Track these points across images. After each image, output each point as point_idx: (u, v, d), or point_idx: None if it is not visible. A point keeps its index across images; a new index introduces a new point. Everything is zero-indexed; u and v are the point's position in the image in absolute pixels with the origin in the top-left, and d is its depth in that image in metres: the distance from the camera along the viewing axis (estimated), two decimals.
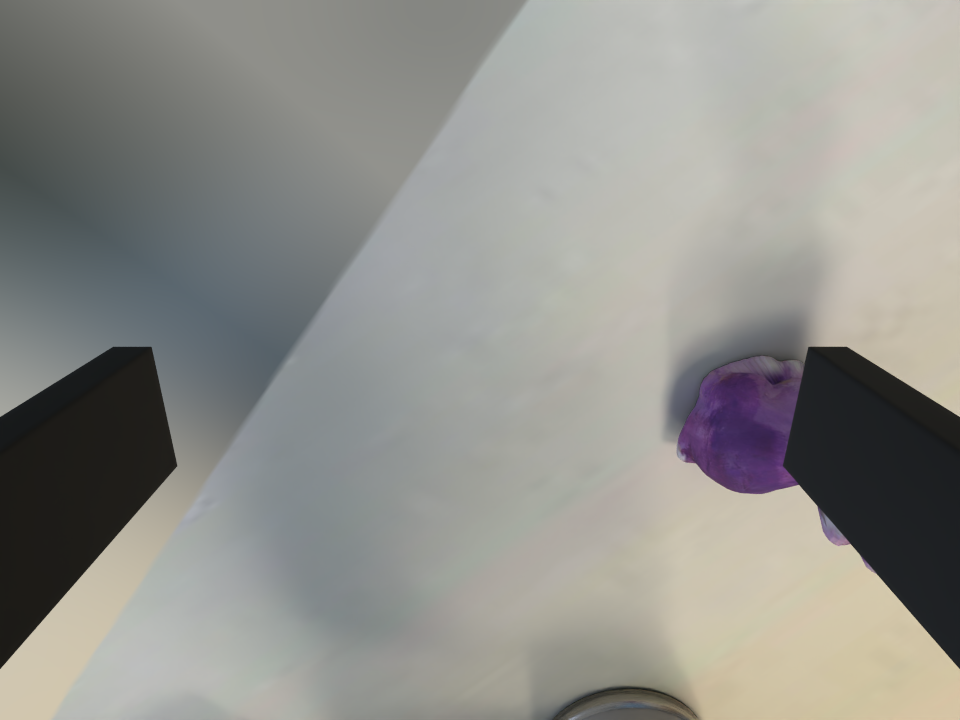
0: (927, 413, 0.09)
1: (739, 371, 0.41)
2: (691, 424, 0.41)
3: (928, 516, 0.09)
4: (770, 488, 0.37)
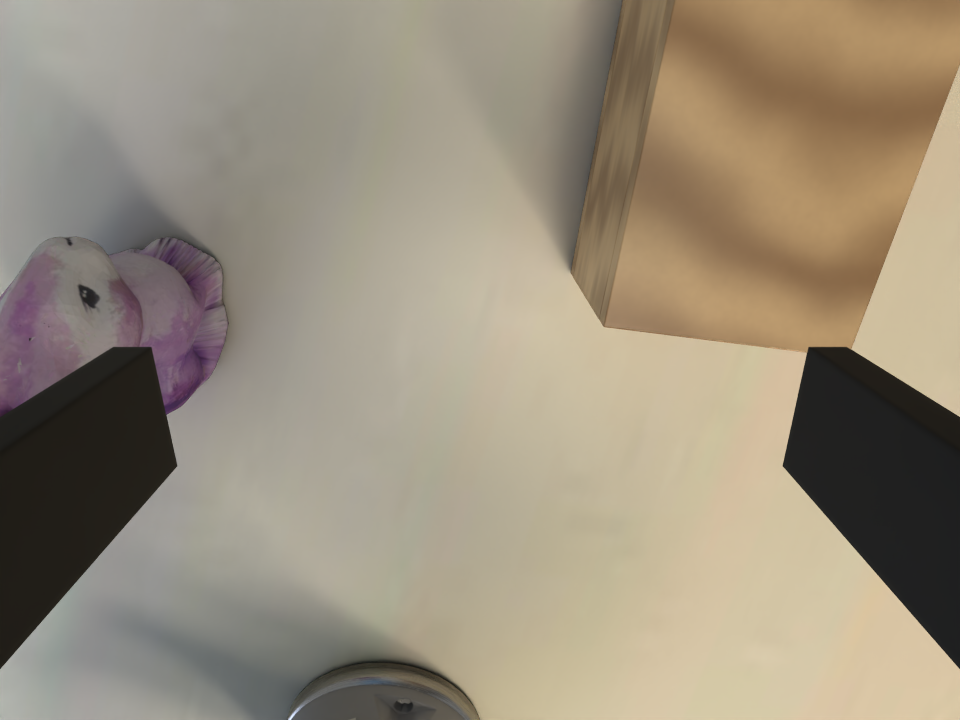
0: (927, 413, 0.09)
1: None
2: None
3: (927, 517, 0.09)
4: None
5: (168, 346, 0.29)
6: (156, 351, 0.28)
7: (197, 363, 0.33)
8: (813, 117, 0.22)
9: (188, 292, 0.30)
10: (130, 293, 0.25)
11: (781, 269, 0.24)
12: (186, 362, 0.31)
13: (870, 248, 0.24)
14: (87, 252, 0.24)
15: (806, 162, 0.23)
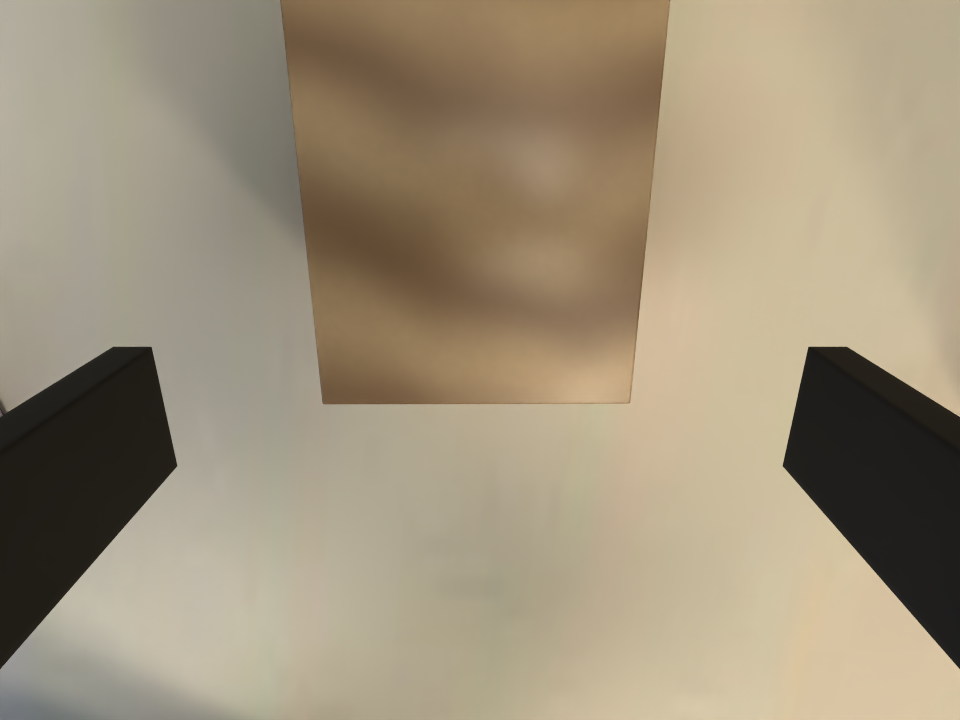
0: (927, 413, 0.09)
1: None
2: None
3: (928, 517, 0.09)
4: None
5: None
6: None
7: None
8: (499, 125, 0.17)
9: None
10: None
11: (516, 311, 0.20)
12: None
13: (618, 272, 0.19)
14: None
15: (507, 180, 0.18)
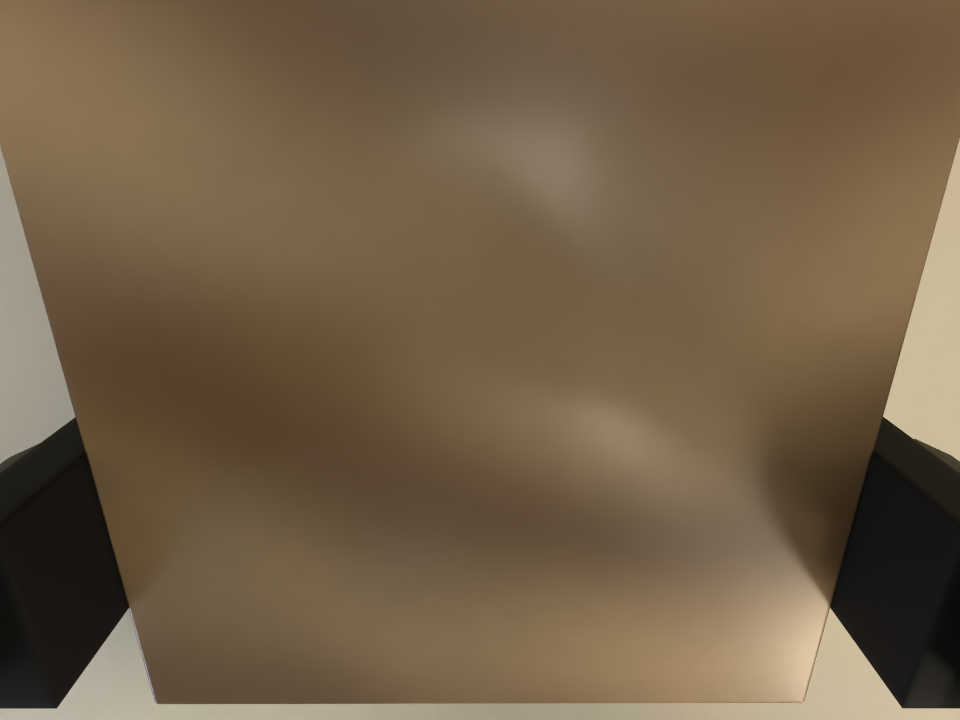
0: None
1: None
2: None
3: None
4: None
5: None
6: None
7: None
8: (542, 110, 0.07)
9: None
10: None
11: (570, 537, 0.09)
12: None
13: (814, 459, 0.08)
14: None
15: (559, 253, 0.07)
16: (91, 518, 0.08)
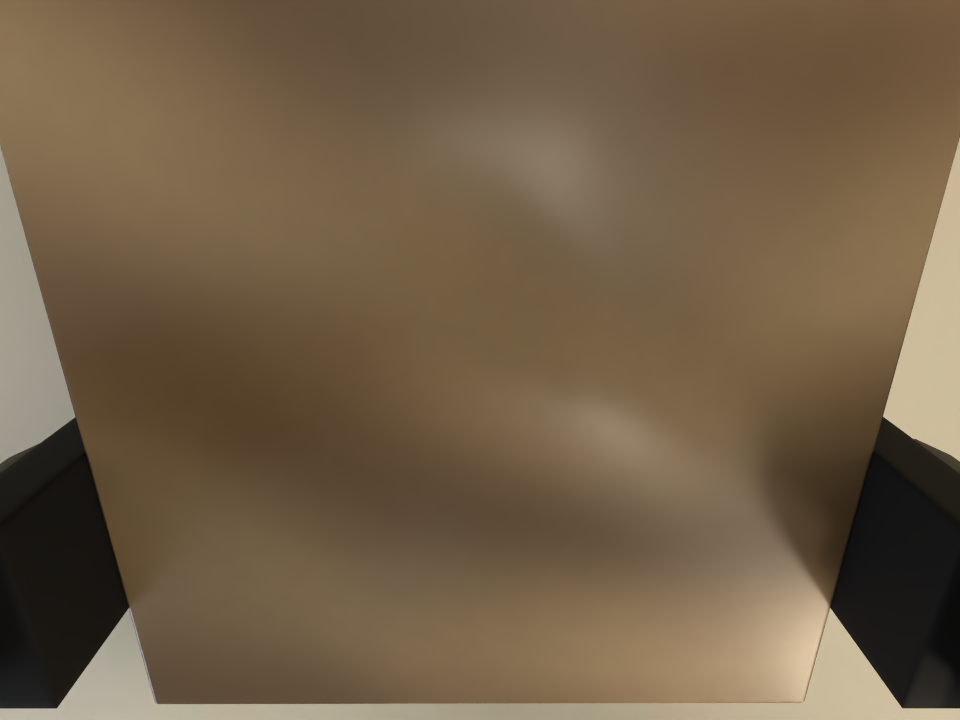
0: None
1: None
2: None
3: None
4: None
5: None
6: None
7: None
8: (542, 110, 0.06)
9: None
10: None
11: (570, 537, 0.09)
12: None
13: (814, 459, 0.08)
14: None
15: (559, 253, 0.07)
16: (91, 518, 0.08)
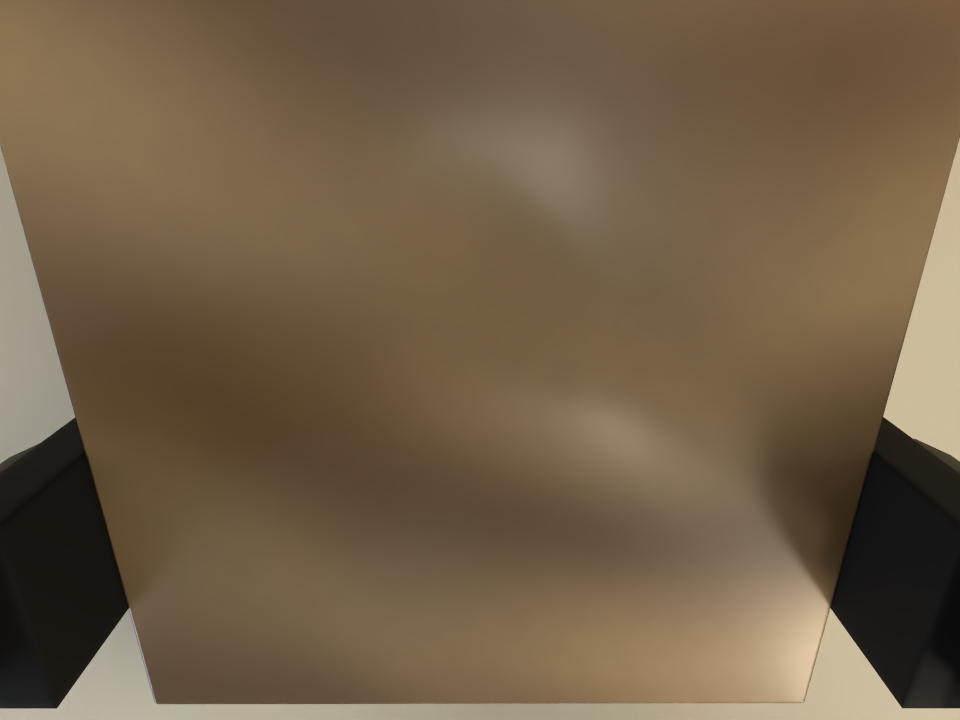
0: None
1: None
2: None
3: None
4: None
5: None
6: None
7: None
8: (542, 110, 0.06)
9: None
10: None
11: (570, 537, 0.09)
12: None
13: (814, 459, 0.08)
14: None
15: (559, 252, 0.07)
16: (91, 518, 0.08)
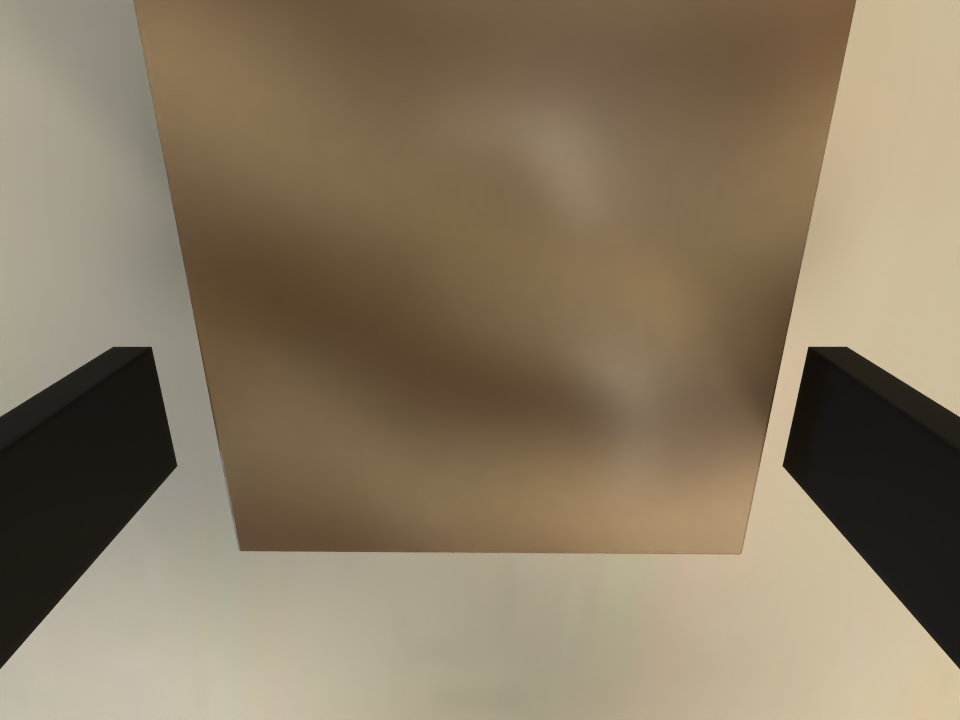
0: (927, 413, 0.09)
1: None
2: None
3: (928, 517, 0.09)
4: None
5: None
6: None
7: None
8: (536, 86, 0.09)
9: None
10: None
11: (558, 412, 0.11)
12: None
13: (740, 351, 0.11)
14: None
15: (549, 191, 0.10)
16: None
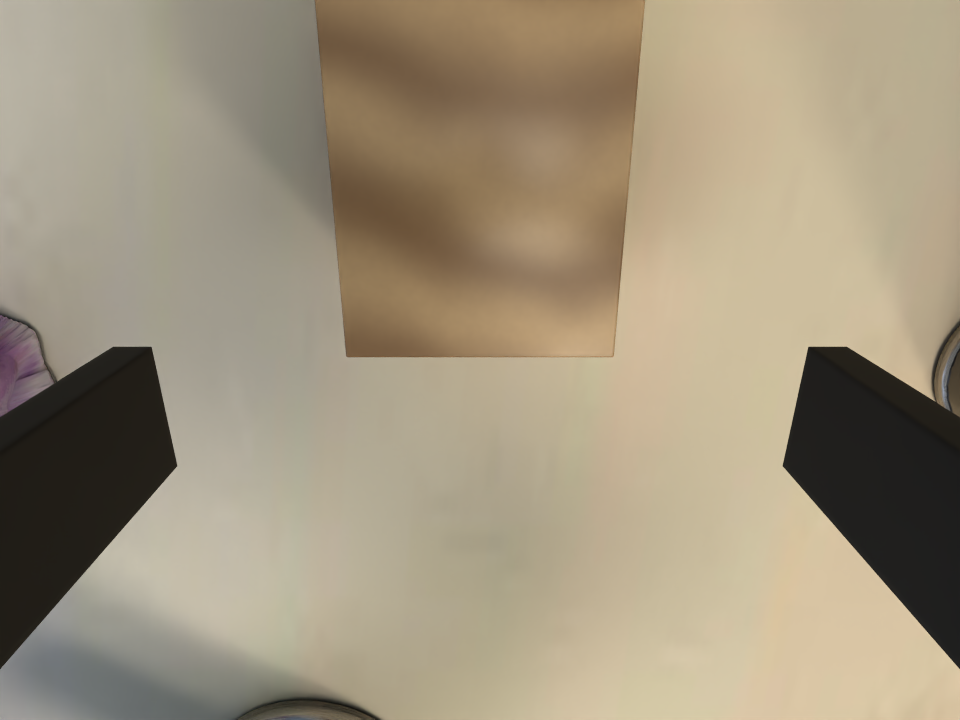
0: (927, 413, 0.09)
1: None
2: None
3: (927, 516, 0.09)
4: None
5: None
6: None
7: None
8: (499, 113, 0.21)
9: None
10: None
11: (514, 274, 0.23)
12: None
13: (602, 241, 0.22)
14: None
15: (506, 161, 0.21)
16: None
